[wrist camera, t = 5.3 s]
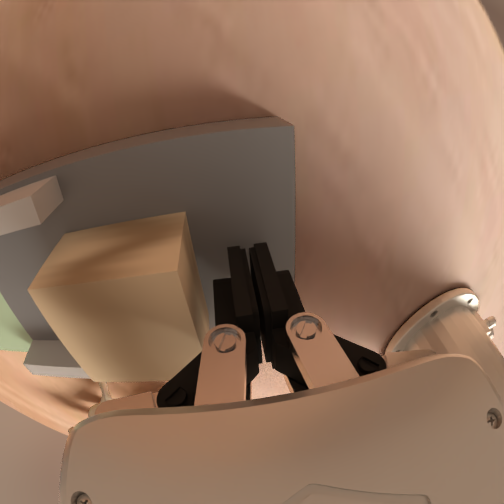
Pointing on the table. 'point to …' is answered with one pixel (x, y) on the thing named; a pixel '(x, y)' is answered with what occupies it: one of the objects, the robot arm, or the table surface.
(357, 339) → the table surface
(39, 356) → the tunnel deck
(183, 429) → the robot arm
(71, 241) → the block
